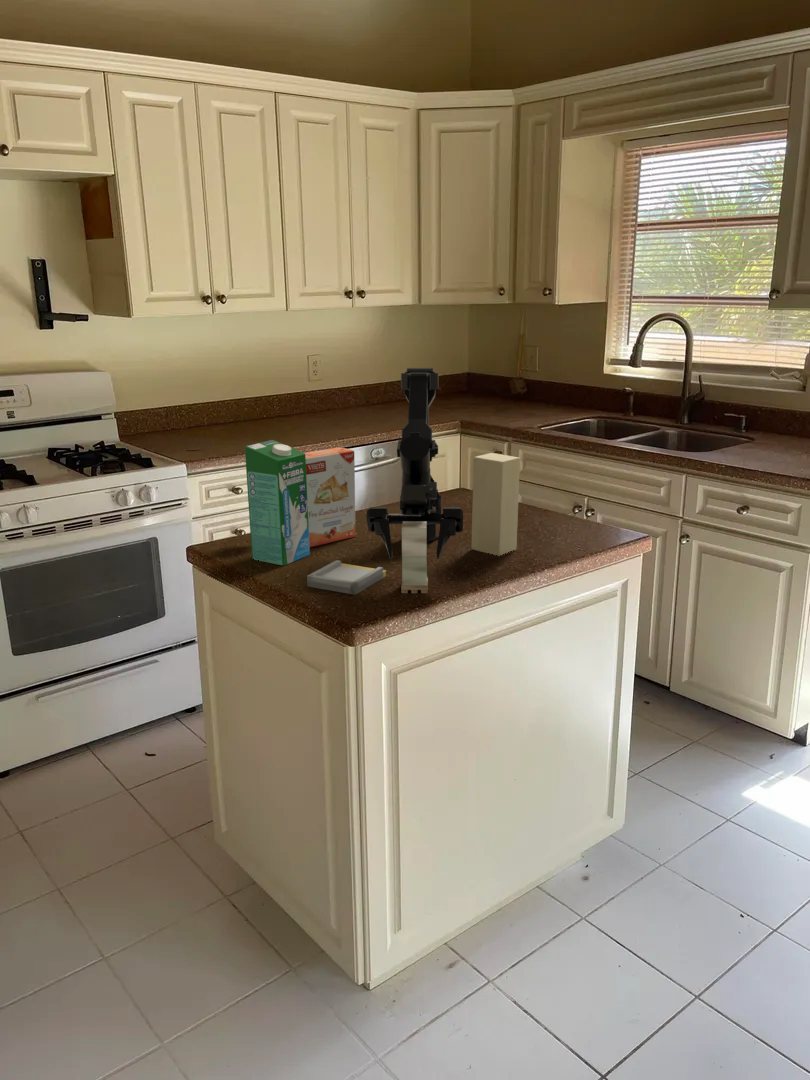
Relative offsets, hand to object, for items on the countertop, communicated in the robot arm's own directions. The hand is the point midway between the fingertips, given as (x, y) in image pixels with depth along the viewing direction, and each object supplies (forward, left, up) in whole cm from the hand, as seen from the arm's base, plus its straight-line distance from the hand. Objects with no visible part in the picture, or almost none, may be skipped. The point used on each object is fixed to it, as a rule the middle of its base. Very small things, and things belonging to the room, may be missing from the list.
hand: (414, 558), depth 164 cm
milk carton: (-36, -3, -7) cm, 37 cm away
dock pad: (-14, -5, -7) cm, 16 cm away
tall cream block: (-4, +32, -7) cm, 33 cm away
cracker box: (-38, +12, -7) cm, 41 cm away
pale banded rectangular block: (-1, +1, -7) cm, 7 cm away
